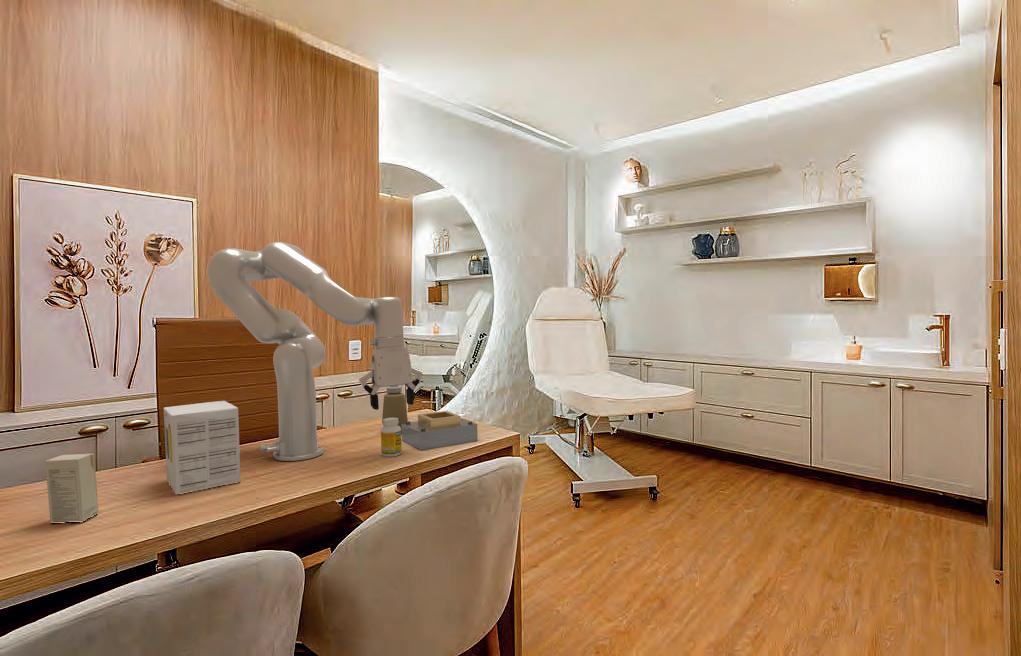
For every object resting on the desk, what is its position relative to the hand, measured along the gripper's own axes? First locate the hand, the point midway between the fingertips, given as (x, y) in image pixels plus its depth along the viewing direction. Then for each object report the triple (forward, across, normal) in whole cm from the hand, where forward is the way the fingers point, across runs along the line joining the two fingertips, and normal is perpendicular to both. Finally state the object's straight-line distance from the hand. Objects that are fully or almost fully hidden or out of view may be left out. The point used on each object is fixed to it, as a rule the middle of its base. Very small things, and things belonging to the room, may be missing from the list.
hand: (393, 406), depth 144 cm
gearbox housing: (+13, +16, +7) cm, 22 cm away
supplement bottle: (+13, -1, +1) cm, 13 cm away
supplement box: (+12, -45, +4) cm, 47 cm away
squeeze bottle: (+13, +9, +25) cm, 29 cm away
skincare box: (+12, -67, -7) cm, 68 cm away
